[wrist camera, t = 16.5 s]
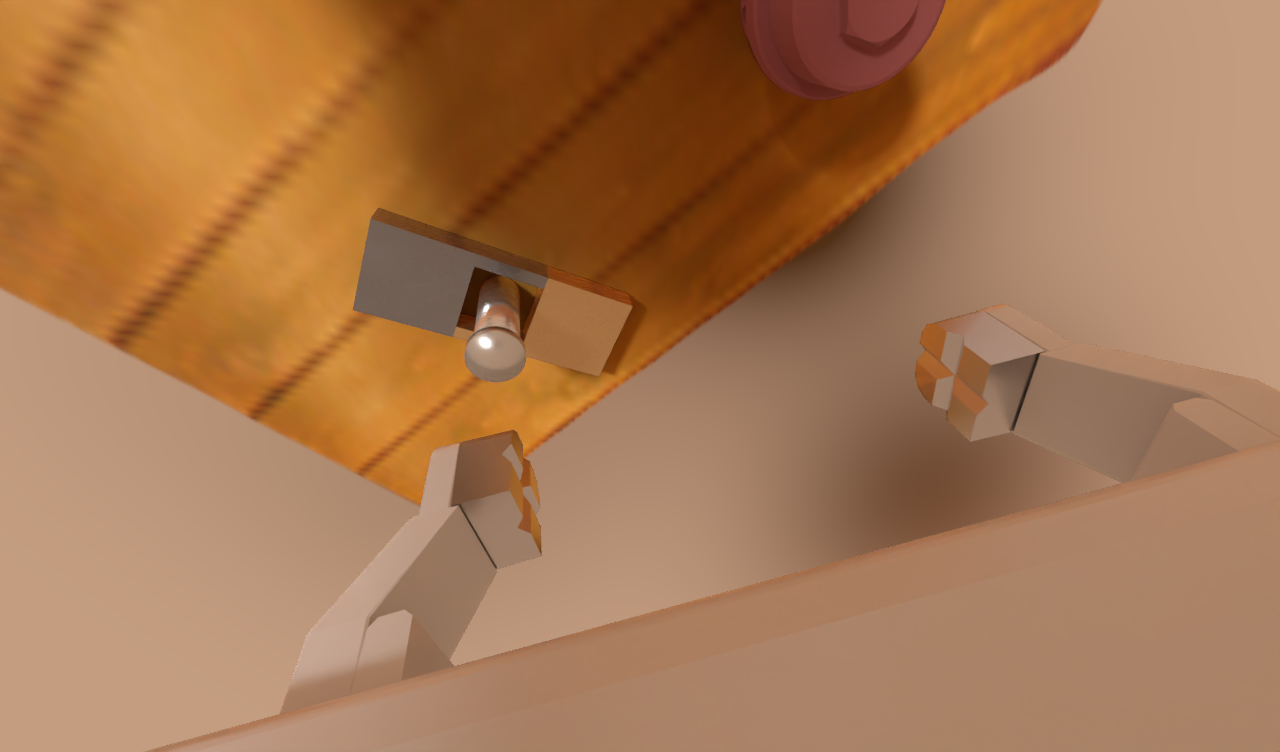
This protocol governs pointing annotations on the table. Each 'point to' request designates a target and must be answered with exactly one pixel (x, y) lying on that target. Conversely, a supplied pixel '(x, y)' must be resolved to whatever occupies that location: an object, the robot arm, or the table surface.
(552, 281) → the two-tone slotted plate
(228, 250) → the table surface
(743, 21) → the mechanical component
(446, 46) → the table surface
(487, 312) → the metal peg
